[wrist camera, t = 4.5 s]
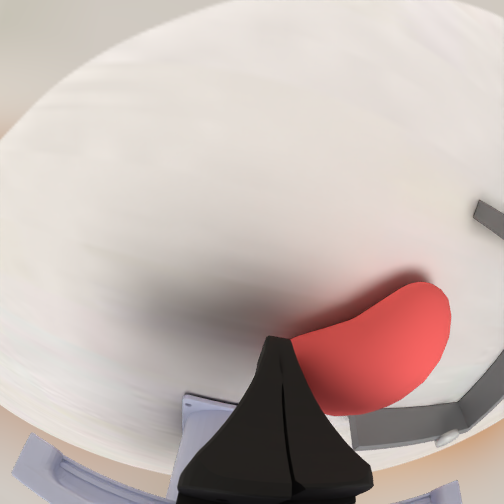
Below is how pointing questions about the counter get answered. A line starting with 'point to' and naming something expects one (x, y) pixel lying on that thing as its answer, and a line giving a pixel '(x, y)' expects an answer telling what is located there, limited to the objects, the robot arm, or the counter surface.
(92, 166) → the counter surface
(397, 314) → the red kidney bean shape
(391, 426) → the gray u-shaped bracket
